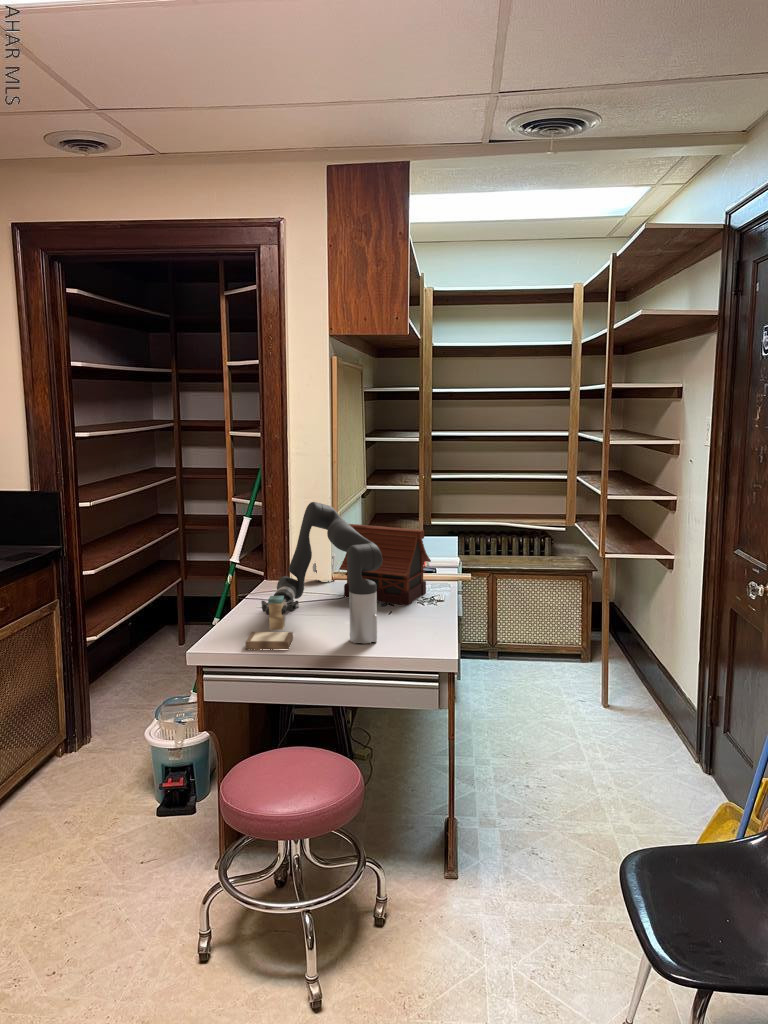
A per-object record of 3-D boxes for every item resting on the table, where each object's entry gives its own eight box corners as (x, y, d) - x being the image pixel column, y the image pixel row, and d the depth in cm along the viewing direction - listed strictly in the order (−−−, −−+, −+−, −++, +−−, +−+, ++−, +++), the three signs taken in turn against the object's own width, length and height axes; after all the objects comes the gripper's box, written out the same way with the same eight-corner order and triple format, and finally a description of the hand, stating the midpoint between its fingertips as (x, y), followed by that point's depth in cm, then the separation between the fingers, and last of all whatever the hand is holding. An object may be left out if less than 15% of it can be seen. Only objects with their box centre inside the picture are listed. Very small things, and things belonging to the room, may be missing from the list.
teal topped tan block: (284, 625, 257) (283, 595, 256) (282, 629, 253) (281, 599, 251) (271, 625, 258) (270, 595, 256) (269, 629, 253) (268, 599, 251)
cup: (331, 584, 321) (331, 557, 319) (312, 583, 322) (311, 556, 320) (338, 578, 331) (337, 552, 329) (318, 577, 332) (318, 551, 331)
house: (434, 591, 309) (435, 524, 304) (409, 609, 283) (409, 536, 279) (360, 582, 323) (360, 518, 318) (330, 599, 297) (329, 529, 293)
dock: (293, 640, 247) (292, 631, 247) (288, 650, 237) (288, 641, 237) (252, 639, 248) (252, 631, 247) (245, 650, 238) (245, 641, 237)
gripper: (263, 588, 268) (254, 601, 251) (302, 588, 268) (295, 601, 251) (264, 608, 269) (255, 622, 252) (302, 608, 269) (296, 622, 252)
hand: (275, 612), depth 252 cm, fingers closed on teal topped tan block, 4 cm apart
